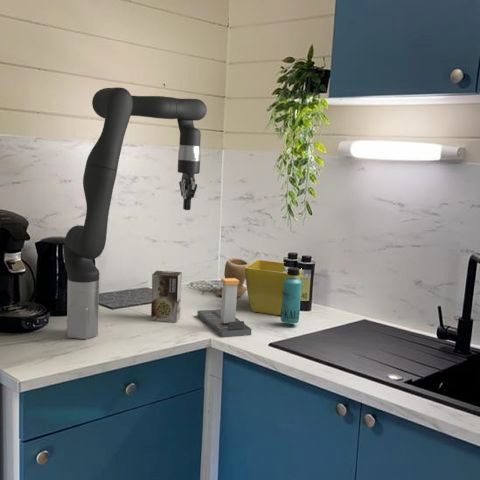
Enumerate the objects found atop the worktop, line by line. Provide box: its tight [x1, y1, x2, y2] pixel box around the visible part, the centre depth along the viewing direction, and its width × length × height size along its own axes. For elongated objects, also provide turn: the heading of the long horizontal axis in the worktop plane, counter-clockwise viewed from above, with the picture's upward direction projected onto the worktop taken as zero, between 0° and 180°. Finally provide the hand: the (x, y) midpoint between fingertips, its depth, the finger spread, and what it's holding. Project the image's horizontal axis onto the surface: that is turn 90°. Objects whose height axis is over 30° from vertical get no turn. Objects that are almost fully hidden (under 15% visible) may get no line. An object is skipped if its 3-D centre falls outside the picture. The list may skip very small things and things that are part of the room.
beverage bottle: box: [280, 268, 303, 325], centre depth 205 cm, size 6×7×20 cm
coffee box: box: [150, 270, 183, 323], centre depth 204 cm, size 9×6×16 cm
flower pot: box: [245, 259, 302, 316], centre depth 224 cm, size 19×19×17 cm
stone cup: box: [216, 257, 250, 298], centre depth 244 cm, size 15×12×15 cm
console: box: [196, 309, 252, 338], centre depth 202 cm, size 24×10×4 cm, turn 23°
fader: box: [220, 277, 239, 323], centre depth 197 cm, size 4×5×14 cm
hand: (186, 209), depth 207 cm, fingers closed
